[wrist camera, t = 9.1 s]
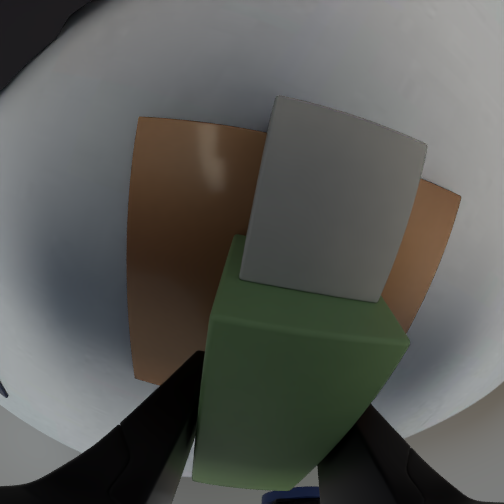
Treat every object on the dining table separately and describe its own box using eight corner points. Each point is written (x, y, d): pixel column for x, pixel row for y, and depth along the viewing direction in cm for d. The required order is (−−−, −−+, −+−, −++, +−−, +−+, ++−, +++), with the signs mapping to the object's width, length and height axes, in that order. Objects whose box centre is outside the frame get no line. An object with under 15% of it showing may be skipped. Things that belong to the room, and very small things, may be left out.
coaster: (354, 405, 10) (356, 410, 9) (136, 373, 9) (134, 378, 9) (456, 194, 6) (462, 196, 6) (143, 117, 6) (138, 116, 6)
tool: (286, 415, 10) (290, 491, 6) (206, 404, 9) (191, 481, 6) (386, 145, 6) (482, 157, 3) (258, 110, 6) (252, 70, 2)
